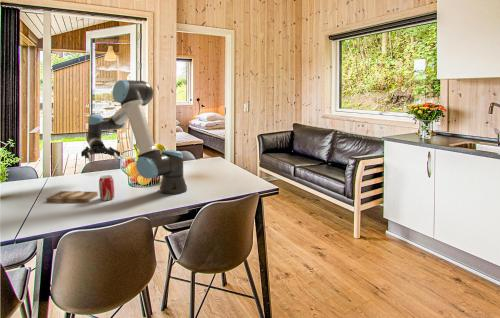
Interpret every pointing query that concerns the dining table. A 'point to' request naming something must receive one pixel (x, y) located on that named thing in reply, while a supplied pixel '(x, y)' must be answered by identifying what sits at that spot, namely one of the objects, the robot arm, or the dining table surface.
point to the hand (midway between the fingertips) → (104, 159)
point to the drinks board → (72, 197)
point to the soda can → (106, 187)
